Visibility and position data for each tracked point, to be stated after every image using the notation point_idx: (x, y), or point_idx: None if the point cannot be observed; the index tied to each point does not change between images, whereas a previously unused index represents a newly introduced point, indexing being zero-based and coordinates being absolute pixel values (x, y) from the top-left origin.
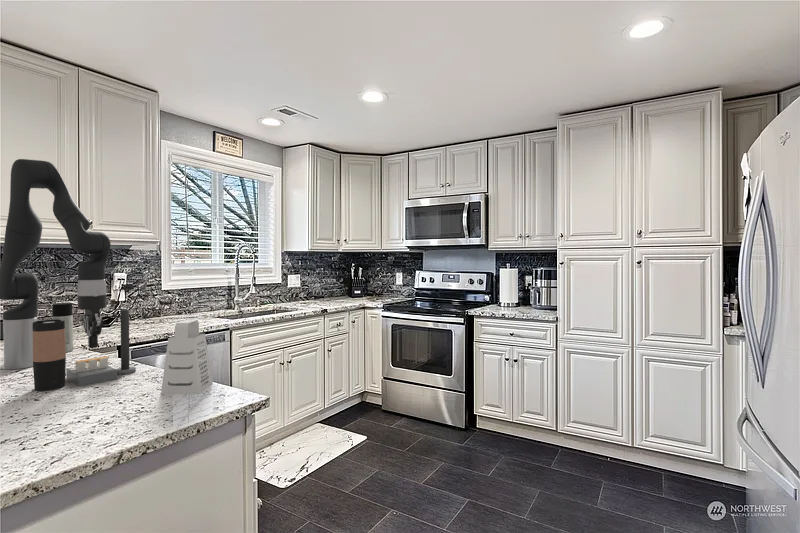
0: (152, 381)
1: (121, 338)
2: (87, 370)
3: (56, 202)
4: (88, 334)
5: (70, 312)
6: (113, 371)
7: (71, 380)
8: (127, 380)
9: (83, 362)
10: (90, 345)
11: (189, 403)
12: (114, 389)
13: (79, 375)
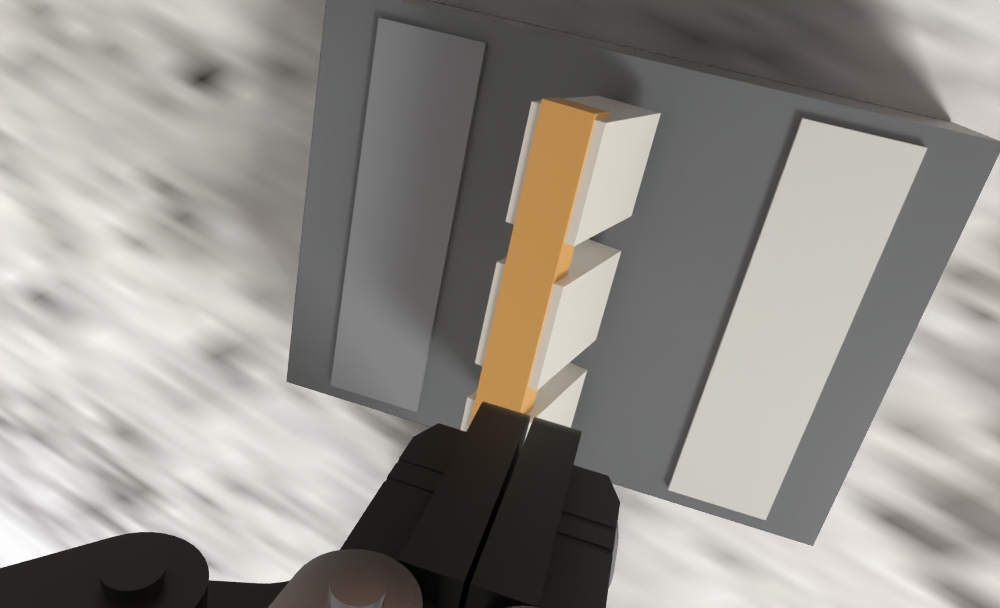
0: (25, 402)
1: None
2: None
3: None
4: (377, 601)
5: None
6: (297, 344)
7: (714, 68)
8: (217, 347)
9: (516, 186)
10: (468, 434)
11: None
12: (8, 111)
13: (390, 20)
